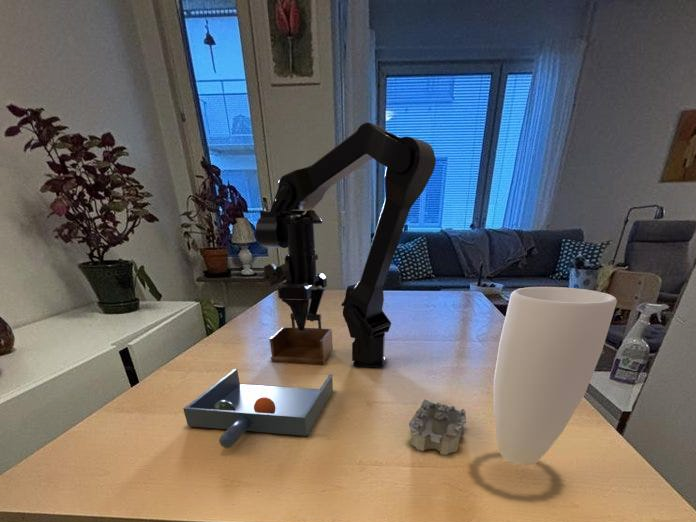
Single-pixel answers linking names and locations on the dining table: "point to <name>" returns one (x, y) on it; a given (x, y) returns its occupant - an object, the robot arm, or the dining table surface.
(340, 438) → the dining table surface
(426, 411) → the grey castle model
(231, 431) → the dustpan
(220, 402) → the green ball
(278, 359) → the basket
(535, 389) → the cup
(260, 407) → the terracotta ball
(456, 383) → the dining table surface
